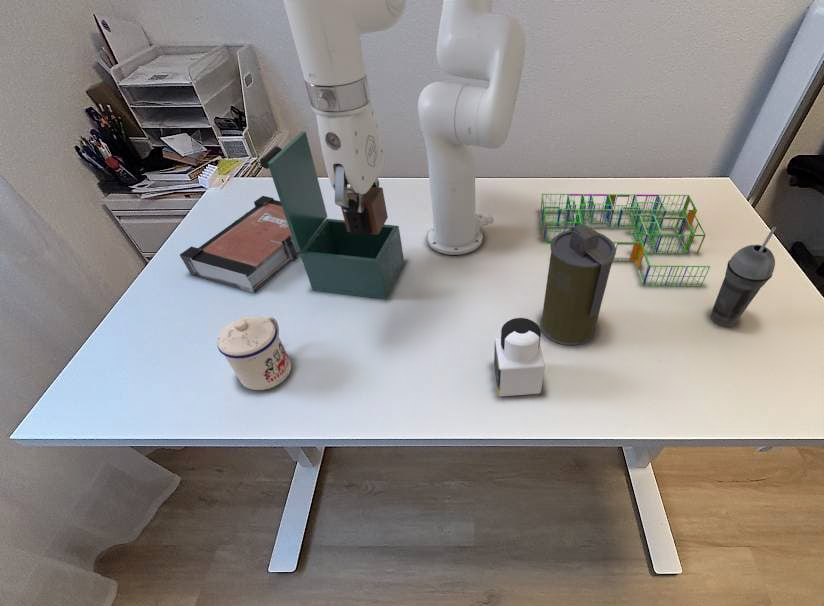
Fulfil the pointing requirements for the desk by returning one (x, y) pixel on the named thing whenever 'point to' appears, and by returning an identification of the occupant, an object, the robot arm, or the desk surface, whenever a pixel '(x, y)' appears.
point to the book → (246, 249)
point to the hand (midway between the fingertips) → (367, 222)
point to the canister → (576, 284)
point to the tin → (353, 260)
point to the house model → (638, 247)
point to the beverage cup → (743, 282)
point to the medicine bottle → (519, 358)
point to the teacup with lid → (255, 351)
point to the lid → (297, 188)
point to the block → (372, 208)
